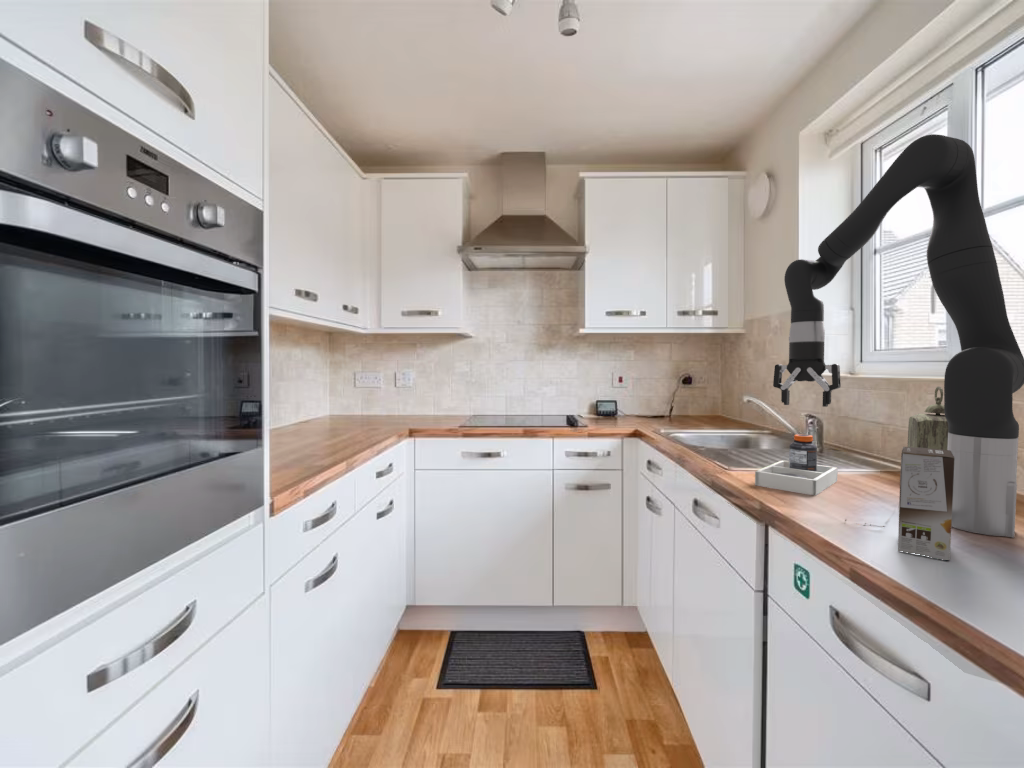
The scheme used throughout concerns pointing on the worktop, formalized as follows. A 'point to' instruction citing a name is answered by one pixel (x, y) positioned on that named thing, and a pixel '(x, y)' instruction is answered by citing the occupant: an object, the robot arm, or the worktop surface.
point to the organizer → (796, 478)
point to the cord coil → (792, 475)
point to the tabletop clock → (929, 427)
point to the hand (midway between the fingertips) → (805, 405)
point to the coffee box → (926, 502)
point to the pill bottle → (803, 453)
